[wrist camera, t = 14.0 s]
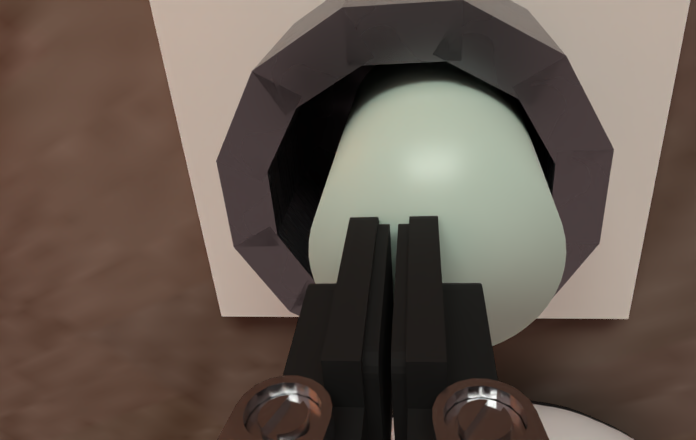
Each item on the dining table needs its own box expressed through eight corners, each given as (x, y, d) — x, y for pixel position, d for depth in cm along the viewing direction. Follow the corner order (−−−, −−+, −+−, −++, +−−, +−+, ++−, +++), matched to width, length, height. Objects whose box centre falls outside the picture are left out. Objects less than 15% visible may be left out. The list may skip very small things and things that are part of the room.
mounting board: (709, -187, 15) (727, -191, 14) (620, 301, 22) (628, 318, 21) (134, -131, 17) (119, -131, 16) (228, 300, 24) (221, 316, 23)
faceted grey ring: (578, -41, 16) (638, -12, 11) (548, 248, 20) (583, 349, 16) (247, -19, 17) (186, 16, 12) (287, 250, 21) (253, 345, 17)
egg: (527, 40, 16) (587, 146, 10) (508, 200, 18) (546, 362, 12) (348, 41, 16) (299, 141, 10) (352, 195, 19) (316, 349, 13)
